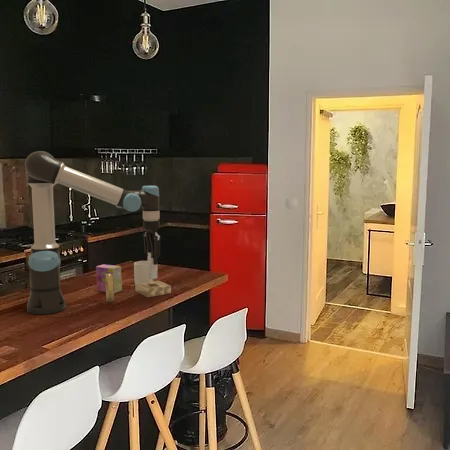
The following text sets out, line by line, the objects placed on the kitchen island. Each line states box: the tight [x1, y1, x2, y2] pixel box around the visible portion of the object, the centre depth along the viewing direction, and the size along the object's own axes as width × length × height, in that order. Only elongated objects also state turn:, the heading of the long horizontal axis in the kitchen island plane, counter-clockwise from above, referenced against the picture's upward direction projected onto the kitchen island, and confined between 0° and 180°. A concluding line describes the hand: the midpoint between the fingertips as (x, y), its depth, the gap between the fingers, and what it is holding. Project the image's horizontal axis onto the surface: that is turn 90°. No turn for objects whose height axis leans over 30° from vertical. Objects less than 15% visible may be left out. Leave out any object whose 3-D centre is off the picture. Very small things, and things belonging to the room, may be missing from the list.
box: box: [95, 264, 123, 294], centre depth 248 cm, size 10×6×12 cm, turn 62°
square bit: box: [147, 252, 158, 280], centre depth 244 cm, size 3×3×12 cm
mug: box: [133, 260, 154, 285], centre depth 260 cm, size 12×9×11 cm
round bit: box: [105, 274, 115, 303], centre depth 230 cm, size 3×3×12 cm
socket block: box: [134, 280, 172, 298], centre depth 245 cm, size 12×12×4 cm
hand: (152, 270), depth 244 cm, fingers closed on square bit, 3 cm apart
